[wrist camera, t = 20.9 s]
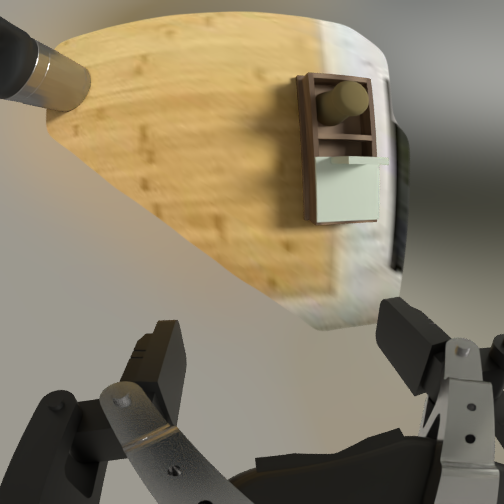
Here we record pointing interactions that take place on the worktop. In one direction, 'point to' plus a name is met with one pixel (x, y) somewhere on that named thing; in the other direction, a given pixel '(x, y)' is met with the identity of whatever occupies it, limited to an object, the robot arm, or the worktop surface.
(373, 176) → the lid
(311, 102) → the caddy
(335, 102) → the olive rounded piece
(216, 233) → the worktop surface
